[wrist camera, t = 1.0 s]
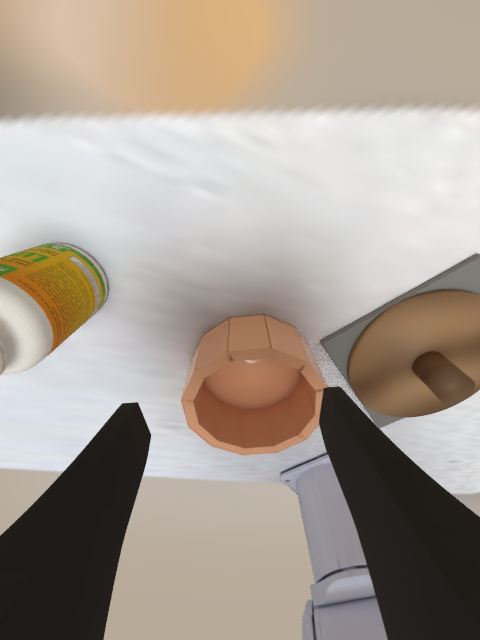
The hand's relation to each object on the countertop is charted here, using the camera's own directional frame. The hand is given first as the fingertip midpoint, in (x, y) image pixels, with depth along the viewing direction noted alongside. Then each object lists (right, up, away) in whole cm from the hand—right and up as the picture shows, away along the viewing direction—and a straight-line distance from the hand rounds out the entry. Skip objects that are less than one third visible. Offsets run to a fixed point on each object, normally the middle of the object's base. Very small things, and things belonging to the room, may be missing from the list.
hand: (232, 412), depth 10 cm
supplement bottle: (-12, +7, +8) cm, 16 cm away
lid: (+15, +1, +11) cm, 19 cm away
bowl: (+1, 0, +12) cm, 12 cm away
